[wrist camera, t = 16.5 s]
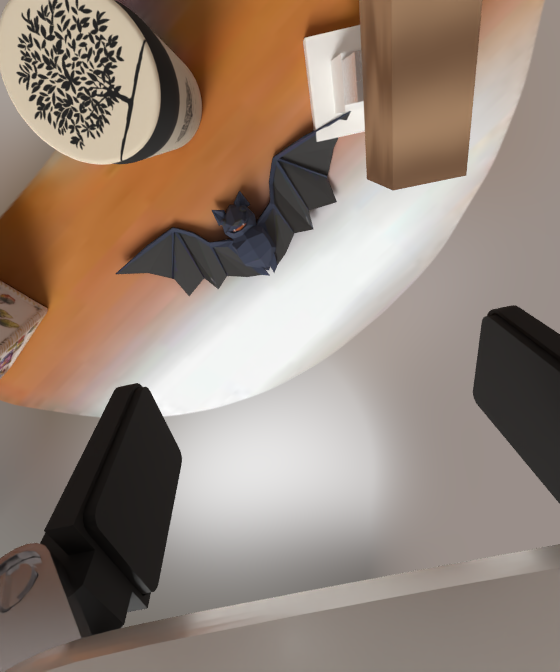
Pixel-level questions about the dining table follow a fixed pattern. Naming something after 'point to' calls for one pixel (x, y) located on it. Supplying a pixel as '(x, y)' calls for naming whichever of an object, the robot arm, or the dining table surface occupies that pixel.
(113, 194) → the dining table surface
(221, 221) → the decorative bat
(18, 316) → the decorative jar
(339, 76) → the fulcrum stand
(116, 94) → the travel mug
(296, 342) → the dining table surface
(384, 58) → the wooden block
